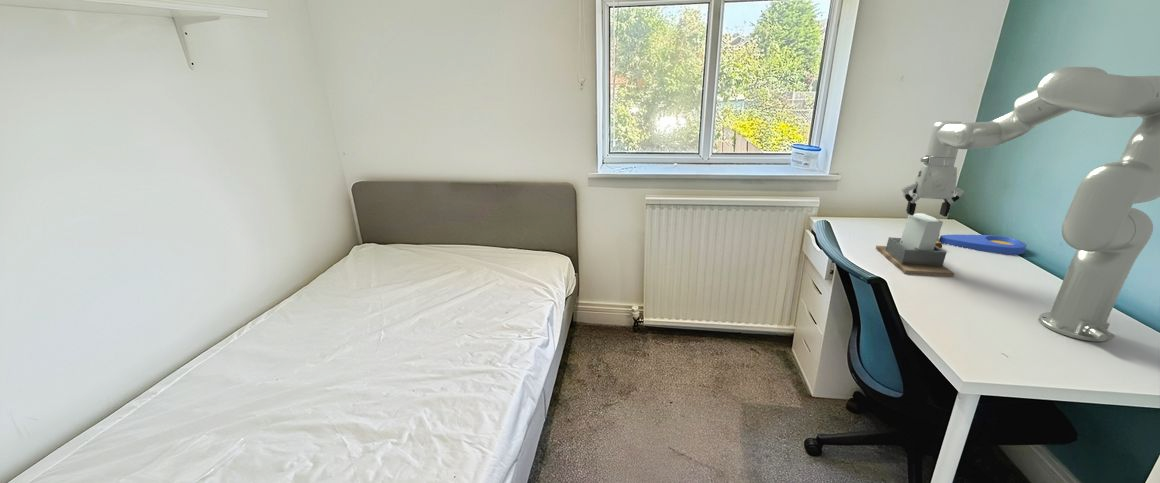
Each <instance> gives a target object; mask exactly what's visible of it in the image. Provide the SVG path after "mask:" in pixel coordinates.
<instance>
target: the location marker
mask: <svg viewBox="0 0 1160 483" xmlns="http://www.w3.org/2000/svg"><path fill="white" fill-rule="evenodd" d="M938 241H939V242H941V244H944V243H945V244H944V245H947V244H949V245H948V246H952V245H953V247H957V246H958V248H962V247H963V249H967V248H968V249H969V250H973V249H974V251H980V252H985V251H986V252H985V253H992V254H993V253H994V254H1000V253H1001V254H1002V255H1011V256H1013V255H1023V254H1024V253H1025V252H1026V249H1027V243H1025V242H1023V241H1021V240H1019V239H1015V238H1011V237H1008V236H1003V235H1002V236H1001V235H990V234H941V235H939V240H938Z"/></svg>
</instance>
